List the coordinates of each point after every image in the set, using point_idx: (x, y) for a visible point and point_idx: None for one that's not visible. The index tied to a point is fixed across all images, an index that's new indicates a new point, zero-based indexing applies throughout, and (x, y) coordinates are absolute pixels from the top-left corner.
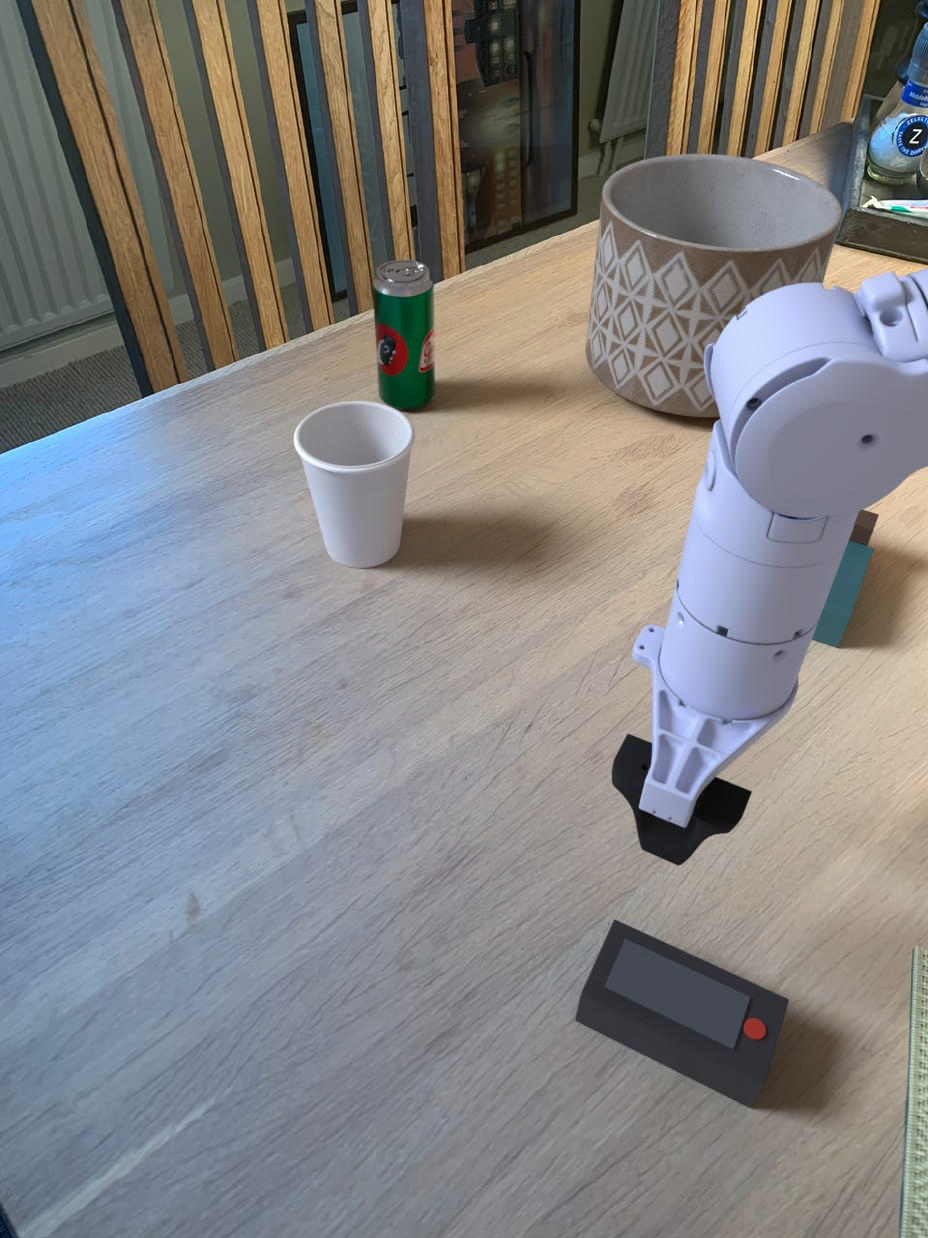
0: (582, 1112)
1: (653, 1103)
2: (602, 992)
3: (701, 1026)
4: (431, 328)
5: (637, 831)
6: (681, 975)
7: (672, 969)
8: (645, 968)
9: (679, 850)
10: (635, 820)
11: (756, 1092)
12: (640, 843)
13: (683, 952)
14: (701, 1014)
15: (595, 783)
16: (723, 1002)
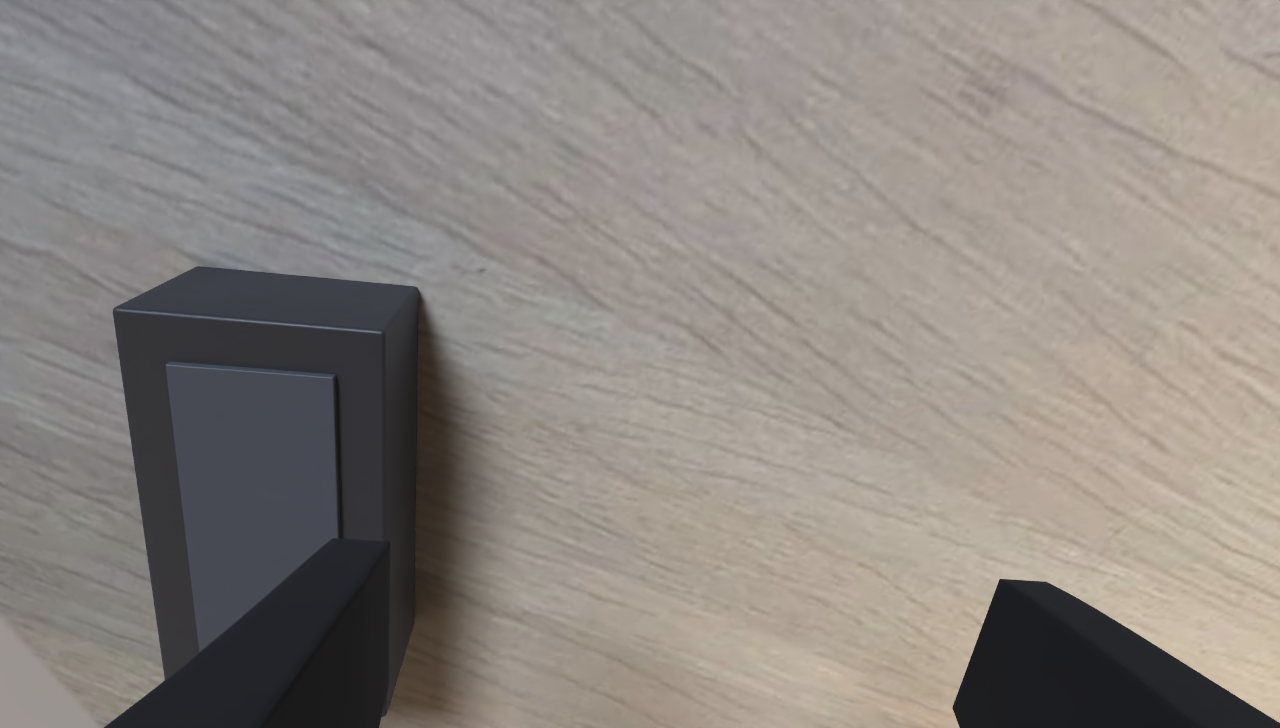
0: (15, 340)
1: (130, 464)
2: (154, 360)
3: (206, 592)
4: None
5: (268, 595)
6: (309, 525)
7: (313, 503)
8: (277, 446)
9: None
10: (169, 677)
11: None
12: (302, 563)
13: (379, 511)
14: (235, 586)
15: (890, 118)
16: None
